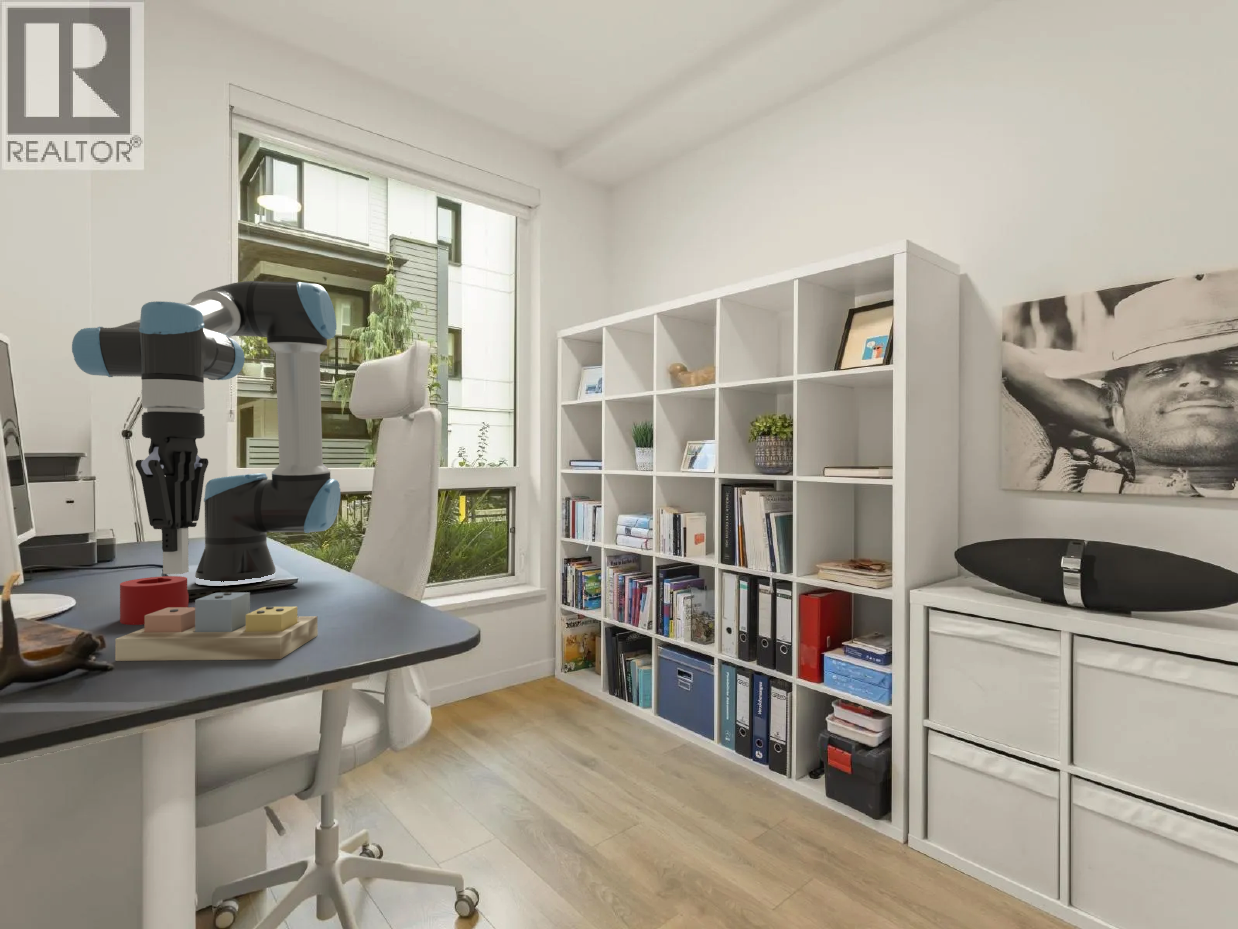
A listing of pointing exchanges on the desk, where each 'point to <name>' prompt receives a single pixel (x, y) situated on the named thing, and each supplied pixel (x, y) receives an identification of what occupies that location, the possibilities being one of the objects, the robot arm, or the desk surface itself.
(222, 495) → the robot arm
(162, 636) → the button board
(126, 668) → the desk surface
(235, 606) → the tile two
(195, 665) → the desk surface
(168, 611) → the tile one
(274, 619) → the tile three
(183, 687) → the desk surface
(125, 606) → the red oval ring
